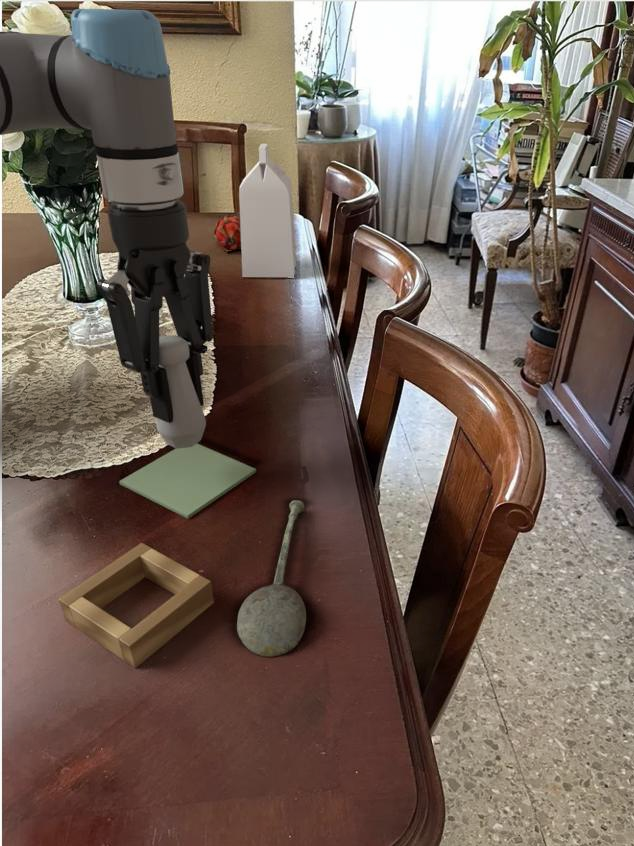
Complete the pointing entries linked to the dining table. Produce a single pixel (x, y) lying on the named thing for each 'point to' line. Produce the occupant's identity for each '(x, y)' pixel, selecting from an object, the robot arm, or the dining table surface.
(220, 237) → the dragon fruit
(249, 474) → the mat
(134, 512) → the dining table surface
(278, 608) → the soupspoon
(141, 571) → the frame
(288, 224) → the milk
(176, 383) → the salt shaker
